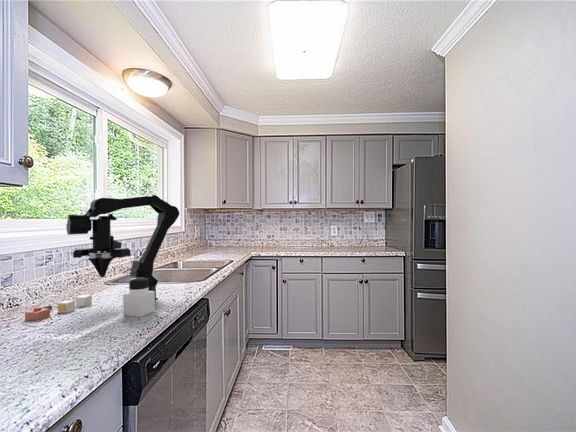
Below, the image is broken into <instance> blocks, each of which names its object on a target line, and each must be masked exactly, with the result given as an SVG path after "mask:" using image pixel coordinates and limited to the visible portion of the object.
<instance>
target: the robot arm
mask: <svg viewBox="0 0 576 432" xmlns="http://www.w3.org/2000/svg"><path fill="white" fill-rule="evenodd" d="M145 206H150V207H151V208H152V210H153V211H155V213H157V219H156V220H157V222H156V226H155V229H154V230H153V234H152V235H151V238H150V239H149V242H148V244H147V245H146V247H145V250H144V252H143V255H142V256H141V258H140V259H138V260H134V261H133V263H132V267H131V268H130V269H129V271H130V273H129V276H130V280H131V279H133V278H140V277H144V278H148V280H149V289H148V291H154V292H155V302H156V301H158V300H159V297H157V293H156V292H157V284H158V282H159V280H158V279H156V278H155V276H153V272H154V262H155V259H156V257H157V255H158V253H159V251H160V248H161V247H162V244H163V242H164V240H165V237H166V236H167V233H168V231H169V229H170V228H171V227H173V225H174V224H175V223H176V221H177V219H178V218H179V216H180V210H179V209H178V207H177V206H175V205H172V204H170V203H169V202H167V201H165V200H163V199H161V197H159V196H158V195H156V194H150V195H145V196H135V197H128V198H114V197H101V198H99V197H98V198H95V199H93V200H92V201H91V202H90V206H89V209H88V210H86V211H87V212H85V214H68V215H67V221H66V225H65V226H66V234H67V235H68V236H71V235H73V236H74V235H87V234H89V232H92V236H90V237H89V240H90V241H91V240H92V248H89V247H88V248H78V249H77V248H76V249H75V250H73V252H72V257H73V258H74V259H77V258H78V259H79V258H82V257H85V256H86V257H87V256H88V258H87V261H90V263H91V264H92V266H93V267H94V268H95V270H96V271H97V273H98V276H99V277H100V278H105V277H106V274H107V271H108V269H109V267H110V264H111V262H112V261H113V260H114V259H116V258H117V259H118V258H124V257H130V256H131V255H132V254H131V250H130V248H129V247H122V242H121V241H118V240H115V238H114V236H113V235H112V233H111V231H112V230H111V221H117V219H118V218H116V217H115V216H114V214H113V212H117V211H119V210H122V209H127V208H129V209H130V208H137V207H145ZM107 214H108V215H107ZM97 217H98V218H97ZM95 218H96V219H95Z"/></svg>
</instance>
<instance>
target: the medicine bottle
mask: <svg viewBox="0 0 576 432" xmlns="http://www.w3.org/2000/svg"><path fill="white" fill-rule="evenodd" d="M148 289H149V280H148V278H144V277H140V278H133V279H131V278H130V279H129V281H128V291H129V292H126V293H123V295H122V299H123V300H122V305H123V307H122V308H123V310H122V311H123V312H122V313H123V316H124V317H125V316H126V317H134V318H135V317H136V318H142V317H145V316H147V315H150V314H152V313H155V311H156V301H155V292H154V291H148Z"/></svg>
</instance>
